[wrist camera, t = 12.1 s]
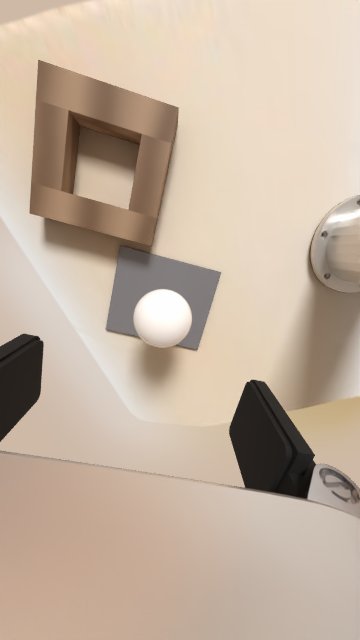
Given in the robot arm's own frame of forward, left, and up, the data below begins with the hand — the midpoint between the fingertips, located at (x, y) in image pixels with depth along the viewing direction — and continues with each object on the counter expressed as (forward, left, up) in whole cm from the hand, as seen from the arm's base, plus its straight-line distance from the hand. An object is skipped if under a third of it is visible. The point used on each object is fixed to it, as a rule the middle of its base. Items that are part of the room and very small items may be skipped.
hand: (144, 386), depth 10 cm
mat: (0, +1, -23) cm, 23 cm away
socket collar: (+10, -13, -23) cm, 28 cm away
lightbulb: (-1, +1, -23) cm, 23 cm away
